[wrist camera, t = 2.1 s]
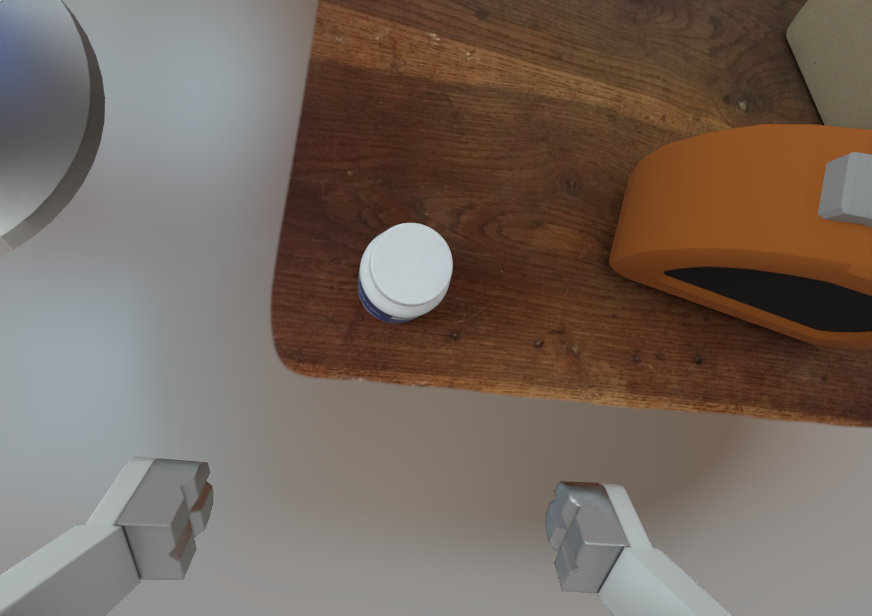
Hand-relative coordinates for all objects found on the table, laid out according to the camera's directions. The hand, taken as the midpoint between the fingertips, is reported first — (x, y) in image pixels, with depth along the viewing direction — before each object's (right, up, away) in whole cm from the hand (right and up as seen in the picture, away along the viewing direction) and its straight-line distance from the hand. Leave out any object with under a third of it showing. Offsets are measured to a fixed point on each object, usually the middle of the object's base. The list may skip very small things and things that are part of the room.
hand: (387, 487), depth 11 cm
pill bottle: (-2, +6, +25) cm, 26 cm away
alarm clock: (+26, +8, +30) cm, 41 cm away
